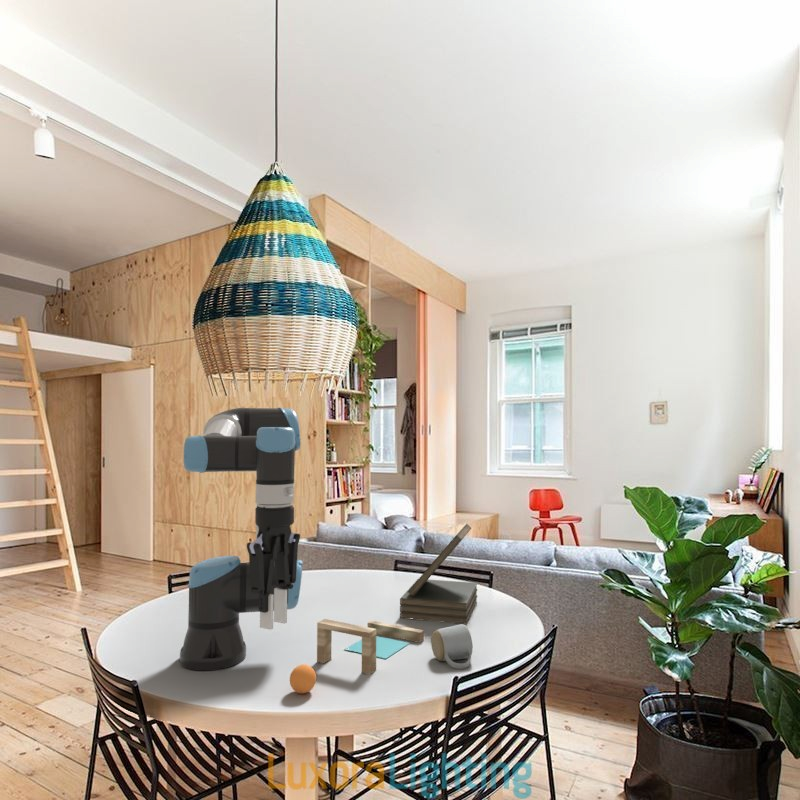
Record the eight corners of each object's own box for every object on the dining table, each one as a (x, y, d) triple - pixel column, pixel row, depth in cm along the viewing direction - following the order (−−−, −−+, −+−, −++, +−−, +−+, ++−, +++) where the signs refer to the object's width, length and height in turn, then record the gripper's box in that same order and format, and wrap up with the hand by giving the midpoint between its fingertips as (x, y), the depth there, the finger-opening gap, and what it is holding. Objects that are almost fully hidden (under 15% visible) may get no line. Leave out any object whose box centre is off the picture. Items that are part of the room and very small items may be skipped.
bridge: (369, 674, 137) (369, 632, 137) (316, 662, 144) (317, 622, 144) (376, 669, 139) (376, 629, 140) (324, 657, 146) (324, 618, 147)
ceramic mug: (429, 655, 148) (429, 623, 148) (459, 651, 151) (459, 619, 151) (447, 672, 138) (448, 638, 138) (479, 667, 141) (480, 634, 141)
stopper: (367, 632, 164) (367, 622, 165) (371, 629, 166) (371, 620, 166) (420, 642, 157) (420, 632, 157) (423, 640, 158) (423, 630, 159)
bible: (417, 597, 198) (417, 520, 199) (477, 602, 194) (477, 523, 194) (399, 619, 176) (399, 532, 177) (466, 625, 171) (466, 536, 172)
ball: (284, 694, 126) (284, 667, 127) (300, 684, 131) (301, 658, 131) (305, 700, 124) (305, 672, 124) (321, 690, 128) (321, 663, 129)
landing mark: (344, 650, 151) (344, 649, 151) (369, 635, 162) (369, 634, 162) (385, 659, 145) (385, 658, 145) (409, 643, 156) (409, 642, 156)
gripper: (260, 511, 112) (259, 641, 111) (315, 501, 126) (314, 616, 125) (230, 508, 115) (228, 634, 114) (287, 499, 130) (285, 611, 129)
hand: (273, 624), depth 120 cm, fingers open, 3 cm apart
